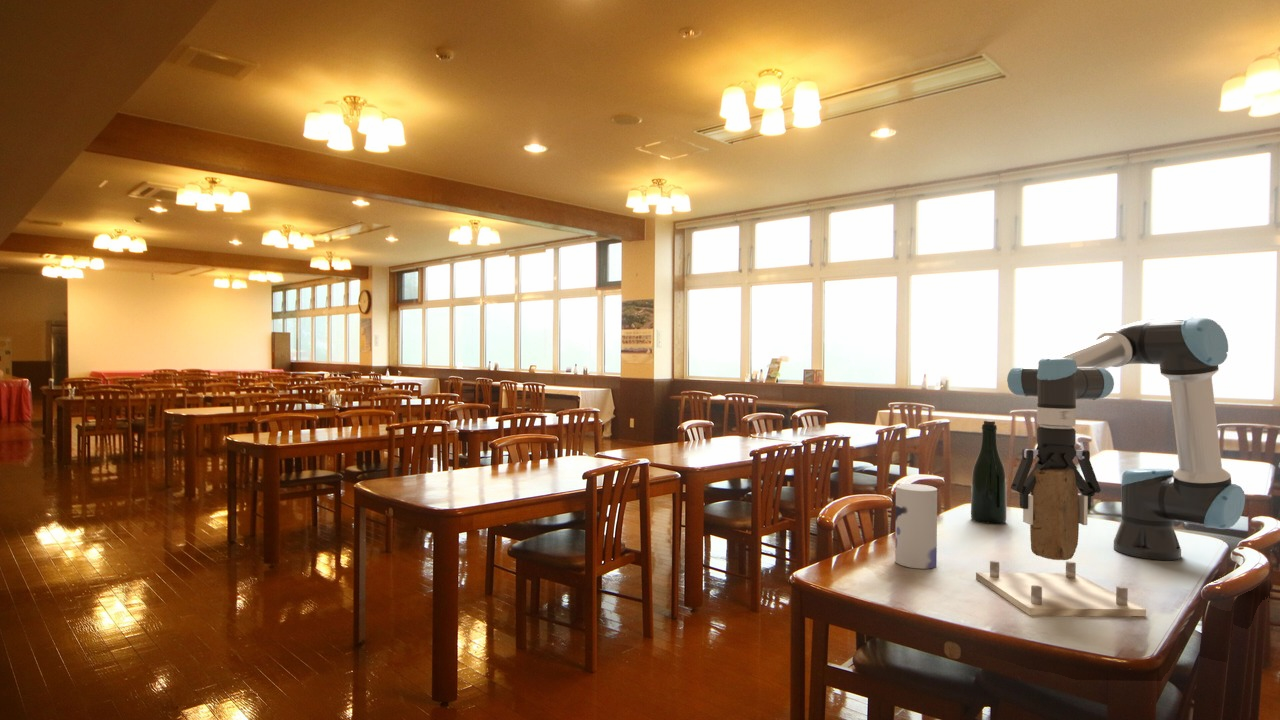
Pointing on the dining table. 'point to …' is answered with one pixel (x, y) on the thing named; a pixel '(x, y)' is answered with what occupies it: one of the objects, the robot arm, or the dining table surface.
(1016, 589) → the peg stand
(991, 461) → the beer bottle
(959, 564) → the dining table surface
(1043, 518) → the block
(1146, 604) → the dining table surface
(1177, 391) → the robot arm
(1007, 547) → the dining table surface
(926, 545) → the container
